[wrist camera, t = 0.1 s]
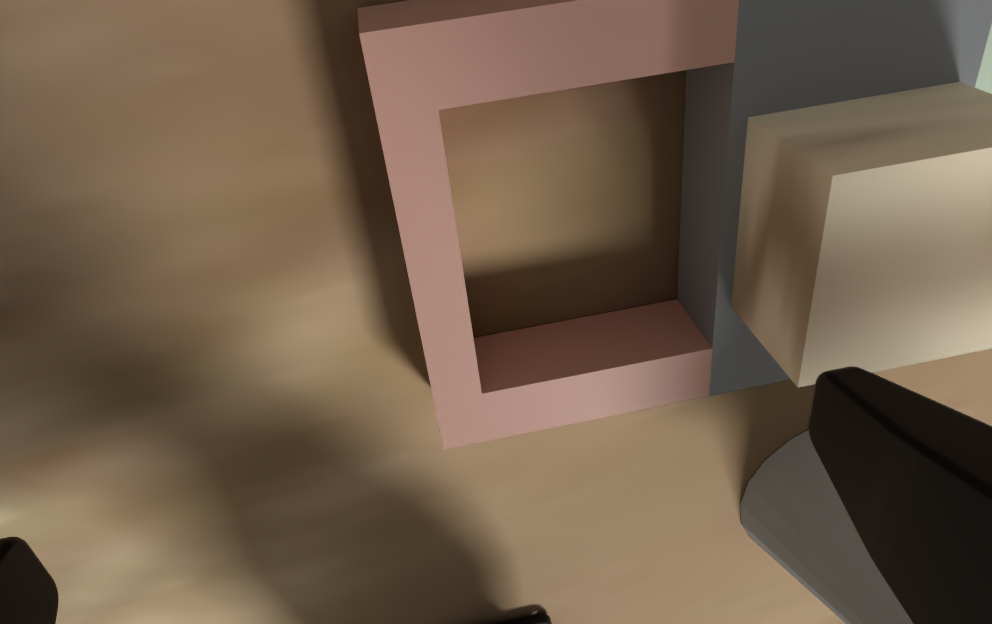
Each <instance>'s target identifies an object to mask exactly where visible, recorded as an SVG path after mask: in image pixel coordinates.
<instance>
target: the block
mask: <svg viewBox="0 0 992 624" xmlns="http://www.w3.org/2000/svg"><path fill="white" fill-rule="evenodd" d="M731 307H732V309H733V310H734V311H735V312H736V313H737V315H738V316H739V317H740V318H741V320H742V321H743V322H744V323H745V324H746V326H747V327H748V328H749V329H750V330H751V332H752V333H753V334H754V335H755V336H756V338H757V339H758V340H759V341H760V343H761V344H762V345H763V346H764V347H765V349H766V350H767V351H768V352H769V353H770V355H771V356H772V357H773V358H774V359H775V361H776V362H777V363H778V364H779V366H780V367H781V368H782V369H783V370H784V372H785V373H786V374H787V375H788V376H789V378H790V379H791V380H792V381H793V382H794V384H795V385H796V386H797V387H798V388H799V387H804V386H809V385H814V384H815V383H816V379H817V378H818V376H819V375H820V374H821V373H823V372H825V371H829V370H834V369H839V368H844V367H849V366H854V367H859V368H861V369H864V370H866V371H868V372H871V373H873V372H878V371H882V370H887V369H892V368H897V367H902V366H907V365H912V364H917V363H922V362H927V361H932V360H937V359H941V358H946V357H951V356H956V355H961V354H966V353H971V352H976V351H981V350H986V349H991V348H992V94H990V93H988V92H985V91H983V90H980V89H977V88H975V87H972V86H970V85H967V84H965V83H962V82H955V83H949V84H943V85H937V86H931V87H925V88H919V89H913V90H907V91H901V92H895V93H890V94H884V95H878V96H872V97H866V98H860V99H854V100H848V101H842V102H836V103H830V104H824V105H818V106H813V107H807V108H801V109H795V110H789V111H783V112H777V113H771V114H765V115H759V116H753V117H748V124H747V135H746V146H745V157H744V168H743V179H742V190H741V201H740V212H739V224H738V235H737V246H736V257H735V268H734V279H733V290H732V301H731Z"/></svg>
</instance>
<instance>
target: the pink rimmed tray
mask: <svg viewBox="0 0 992 624" xmlns="http://www.w3.org/2000/svg"><path fill="white" fill-rule="evenodd" d="M357 11H358V25H359V35H360V40H361V45H362V50H363V55H364V60H365V65H366V70H367V75H368V80H369V85H370V90H371V94H372V99H373V104H374V109H375V114H376V119H377V124H378V129H379V134H380V139H381V144H382V149H383V153H384V158H385V163H386V168H387V173H388V178H389V183H390V188H391V193H392V198H393V203H394V208H395V212H396V217H397V222H398V227H399V232H400V237H401V242H402V247H403V252H404V257H405V262H406V267H407V271H408V276H409V281H410V286H411V291H412V296H413V301H414V306H415V311H416V316H417V321H418V326H419V331H420V335H421V340H422V345H423V350H424V355H425V360H426V365H427V370H428V375H429V380H430V385H431V390H432V394H433V399H434V404H435V409H436V414H437V419H438V424H439V429H440V434H441V439H442V444H443V449H444V450H445V449H449V448H454V447H459V446H464V445H469V444H474V443H479V442H484V441H489V440H494V439H499V438H504V437H509V436H514V435H519V434H524V433H529V432H534V431H539V430H544V429H549V428H553V427H558V426H563V425H568V424H573V423H578V422H583V421H588V420H593V419H598V418H603V417H608V416H613V415H618V414H623V413H628V412H633V411H638V410H643V409H648V408H652V407H657V406H662V405H667V404H672V403H677V402H682V401H687V400H692V399H697V398H702V397H707V396H712V395H717V394H722V393H727V392H732V391H737V390H742V389H747V388H751V387H756V386H761V385H766V384H771V383H776V382H781V381H786V380H791V379H790V378H789V376H788V375H787V374H786V373H785V372H784V370H783V369H782V368H781V367H780V366H779V364H778V363H777V362H776V361H775V359H774V358H773V357H772V356H771V355H770V353H769V352H768V351H767V350H766V349H765V347H764V346H763V345H762V344H761V343H760V341H759V340H758V339H757V338H756V336H755V335H754V334H753V333H752V332H751V330H750V329H749V328H748V327H747V326H746V324H745V323H744V322H743V321H742V320H741V318H740V317H739V316H738V315H737V313H736V312H735V311H734V310H733V309H732V307H731V301H732V290H733V279H734V268H735V257H736V246H737V235H738V224H739V212H740V201H741V190H742V179H743V168H744V157H745V146H746V135H747V124H748V117H753V116H759V115H765V114H771V113H777V112H783V111H789V110H795V109H801V108H807V107H813V106H818V105H824V104H830V103H836V102H842V101H848V100H854V99H860V98H866V97H872V96H878V95H884V94H890V93H895V92H901V91H907V90H913V89H919V88H925V87H931V86H937V85H943V84H949V83H955V82H962V83H965V84H967V85H970V86H972V87H975V88H977V89H980V90H983V91H985V92H988V93H990V94H992V0H407V1H400V2H393V3H387V4H380V5H373V6H366V7H360V8H357ZM683 70H686V88H685V113H684V138H683V163H682V188H681V213H680V238H679V263H678V288H677V299H676V300H671V301H666V302H661V303H655V304H650V305H645V306H639V307H634V308H629V309H624V310H618V311H613V312H608V313H603V314H597V315H592V316H587V317H581V318H576V319H571V320H566V321H560V322H555V323H550V324H544V325H539V326H534V327H529V328H523V329H518V330H513V331H508V332H502V333H497V334H492V335H486V336H481V337H476V338H473V332H472V326H471V319H470V313H469V306H468V299H467V293H466V286H465V280H464V273H463V267H462V260H461V254H460V247H459V241H458V234H457V228H456V221H455V215H454V208H453V202H452V195H451V189H450V182H449V176H448V169H447V162H446V156H445V149H444V143H443V136H442V130H441V123H440V117H439V110H442V109H448V108H454V107H461V106H467V105H473V104H479V103H485V102H492V101H498V100H504V99H510V98H516V97H522V96H529V95H535V94H541V93H547V92H553V91H560V90H566V89H572V88H578V87H584V86H590V85H597V84H603V83H609V82H615V81H621V80H628V79H634V78H640V77H646V76H652V75H658V74H665V73H671V72H677V71H683Z"/></svg>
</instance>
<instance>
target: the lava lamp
mask: <svg viewBox="0 0 992 624" xmlns="http://www.w3.org/2000/svg"><path fill="white" fill-rule="evenodd" d="M740 510H741V524H742V525H743V527H744V529H745V530H746V532H747V533H748V535H749V536H750V538H751V539H752V540H753V541H754V542H755V543H757V544H758V545H759V546H760V547H761V548H762V549H763V550H764V551H765V552H767V553H768V554H769V555H770V556H771V557H772V558H773V559H774V560H776V561H777V562H778V563H779V564H780V565H781V566H782V567H783V568H784V569H786V570H787V571H788V572H789V573H790V574H791V575H792V576H793V577H795V578H796V579H797V580H798V581H799V582H800V583H801V584H802V585H804V586H805V587H806V588H807V589H808V590H809V591H810V592H811V593H812V594H814V595H815V596H816V597H817V598H818V599H819V600H820V601H821V602H823V603H824V604H825V605H826V606H827V607H828V608H829V609H830V610H831V611H833V612H834V613H835V614H836V615H837V616H838V617H839V618H840V619H842V620H843V621H844V622H845V623H846V624H913V622H912V621H911V619H910V618H909V616H908V615H907V613H906V612H905V610H904V609H903V607H902V606H901V604H900V602H899V601H898V599H897V598H896V596H895V595H894V593H893V592H892V590H891V589H890V587H889V586H888V584H887V582H886V581H885V579H884V578H883V576H882V575H881V573H880V571H879V570H878V568H877V567H876V565H875V563H874V562H873V560H872V559H871V557H870V555H869V553H868V551H867V550H866V548H865V546H864V544H863V542H862V540H861V539H860V537H859V535H858V533H857V531H856V529H855V527H854V525H853V523H852V521H851V519H850V517H849V515H848V513H847V511H846V509H845V507H844V505H843V503H842V501H841V499H840V497H839V496H838V494H837V492H836V490H835V488H834V486H833V484H832V482H831V480H830V478H829V476H828V474H827V472H826V470H825V468H824V466H823V464H822V462H821V460H820V458H819V456H818V454H817V452H816V450H815V448H814V446H813V444H812V442H811V439H810V436H809V430H807V431H805V432H804V433H802V434H800V435H798V436H796V437H794V438H792V439H790V440H789V441H788V442H787V443H785V444H784V445H783V446H782V447H781V448H779V449H778V450H777V451H776V452H775V453H773V454H772V455H771V456H770V457H768V458H767V459H766V460H765V461H764V463H763V464H762V465H761V466H760V468H759V469H758V470H757V472H756V473H755V474H754V476H753V477H752V478H751V480H750V481H749V482H748V485H747V487H746V490H745V493H744V495H743V498H742V501H741V503H740Z"/></svg>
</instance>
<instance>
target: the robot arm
mask: <svg viewBox="0 0 992 624" xmlns="http://www.w3.org/2000/svg"><path fill="white" fill-rule="evenodd" d="M808 430H809V436H810V439H811V442H812V444H813V446H814V448H815V450H816V452H817V454H818V456H819V458H820V460H821V462H822V464H823V466H824V468H825V470H826V472H827V474H828V476H829V478H830V480H831V482H832V484H833V486H834V488H835V490H836V492H837V494H838V496H839V497H840V499H841V501H842V503H843V505H844V507H845V509H846V511H847V513H848V515H849V517H850V519H851V521H852V523H853V525H854V527H855V529H856V531H857V533H858V535H859V537H860V539H861V540H862V542H863V544H864V546H865V548H866V550H867V551H868V553H869V555H870V557H871V559H872V560H873V562H874V563H875V565H876V567H877V568H878V570H879V571H880V573H881V575H882V576H883V578H884V579H885V581H886V582H887V584H888V586H889V587H890V589H891V590H892V592H893V593H894V595H895V596H896V598H897V599H898V601H899V602H900V604H901V606H902V607H903V609H904V610H905V612H906V613H907V615H908V616H909V618H910V619H911V621H912V622H913V624H992V426H990V425H988V424H986V423H983V422H981V421H979V420H977V419H974V418H972V417H970V416H968V415H965V414H963V413H961V412H959V411H956V410H954V409H952V408H950V407H947V406H945V405H943V404H941V403H938V402H936V401H934V400H932V399H929V398H927V397H925V396H923V395H920V394H918V393H916V392H913V391H911V390H909V389H907V388H904V387H902V386H900V385H898V384H895V383H893V382H891V381H889V380H886V379H884V378H882V377H880V376H877V375H875V374H873V373H871V372H868V371H866V370H864V369H861V368H859V367H854V366H849V367H844V368H839V369H834V370H829V371H825V372H823V373H821V374H820V375H819V376H818V378H817V379H816V383H815V388H814V394H813V399H812V405H811V411H810V416H809V422H808ZM57 610H58V591H57V587H56V584H55V582H54V580H53V579H52V577H51V576H50V574H49V573H48V572H47V570H46V569H45V567H44V566H43V565H42V563H41V562H40V560H39V559H38V558H37V556H36V555H35V554H34V552H33V551H32V549H31V548H30V547H29V545H28V544H27V543H26V542H25V541H24V540H22V539H21V538H18V537H7V538H3V539H0V624H55V623H56V616H57ZM500 624H552V623H551V619H550V617H549V616H548V615H544V614H542V615H536V616H532V617H527V618H523V619H518V620H514V621H509V622H505V623H500Z"/></svg>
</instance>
